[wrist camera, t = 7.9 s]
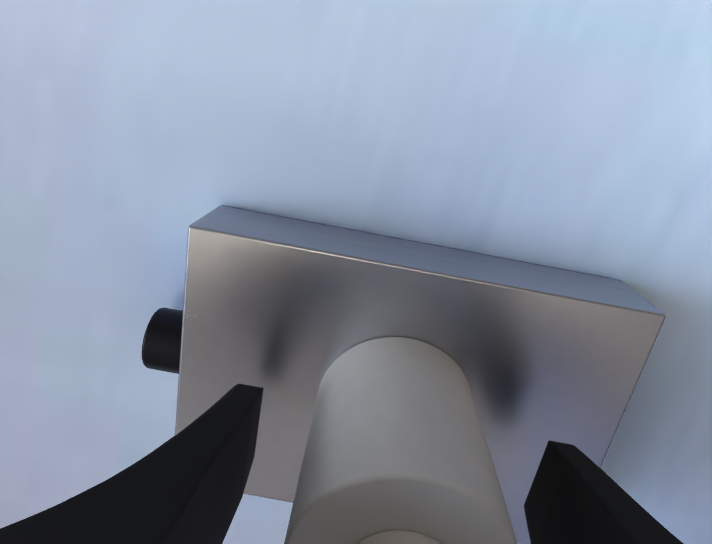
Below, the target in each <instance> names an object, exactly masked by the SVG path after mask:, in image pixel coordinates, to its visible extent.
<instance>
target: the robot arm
mask: <svg viewBox="0 0 712 544" xmlns="http://www.w3.org/2000/svg"><path fill="white" fill-rule="evenodd" d="M263 389H264V388H261V387H256V386H250V385H245V384H239V383H238V384H237V385H235V386H234V387H232V388H231V389H230V390H229V391H228V392H227V393H226V394H225V395H224V396H223V397H221V398H220V399H219V400H218V401H217V402H216V403H215V404H214V405H212V406H211V407H210V408H209V409H208V410H207V411H205V412H204V413H203V414H202V415H201V416H199V417H198V418H197V419H196V420H194V421H193V422H192V423H191V424H189V425H188V426H187V427H186V428H184V429H183V430H182V431H180V432H179V433H178V434H176V435H175V436H174V437H172V438H171V439H170V440H168V441H167V442H165V443H164V444H162V445H161V446H160V447H158V448H157V449H155V450H154V451H153V452H151V453H150V454H148V455H147V456H145V457H144V458H142V459H141V460H139V461H138V462H136V463H134V464H133V465H131V466H130V467H128V468H126V469H125V470H123V471H121V472H120V473H118V474H116V475H115V476H113V477H111V478H109V479H108V480H106V481H104V482H102V483H100V484H98V485H96V486H94V487H92V488H90V489H88V490H86V491H84V492H82V493H80V494H78V495H76V496H74V497H72V498H70V499H68V500H66V501H64V502H62V503H60V504H58V505H56V506H54V507H51V508H49V509H47V510H45V511H42V512H40V513H38V514H35V515H33V516H31V517H28V518H26V519H23V520H21V521H18V522H16V523H14V524H11V525H9V526H6V527H4V528H1V529H0V544H222V543H223V540H224V538H225V536H226V533H227V531H228V529H229V526H230V524H231V522H232V519H233V517H234V515H235V512H236V510H237V508H238V505H239V503H240V501H241V498H242V496H243V492H244V489H245V486H246V483H247V480H248V476H249V473H250V470H251V466H252V463H253V460H254V456H255V448H256V441H257V433H258V426H259V419H260V411H261V404H262V396H263ZM524 511H525V516H526V522H527V527H528V532H529V537H530V542H531V544H683V543H682V542H681V541H680V540H678V539H677V538H676V537H675V536H674V535H673V534H671V533H670V532H669V531H668V530H667V529H666V528H664V527H663V526H662V525H661V524H660V523H659V522H658V521H657V520H655V519H654V518H653V517H652V516H651V515H650V514H649V513H648V512H647V511H646V510H644V509H643V508H642V507H641V506H640V505H639V504H638V503H637V502H636V501H635V500H634V499H633V498H631V497H630V496H629V495H628V494H627V493H626V492H625V491H624V490H623V489H622V488H621V487H620V486H619V485H618V484H616V483H615V482H614V481H613V480H612V479H611V478H610V477H609V476H608V475H607V474H606V473H605V472H604V471H603V470H602V469H601V468H599V467H598V466H597V465H596V464H595V463H594V462H593V461H592V460H591V459H590V458H588V457H587V456H586V455H585V454H584V453H583V452H582V451H580V450H579V449H578V448H577V447H576V446H574V445H572V444H566V443H561V442H555V441H550V440H549V441H548V443H547V446H546V448H545V451H544V454H543V456H542V459H541V462H540V464H539V467H538V469H537V472H536V475H535V477H534V480H533V483H532V485H531V488H530V490H529V493H528V496H527V498H526V501H525V504H524Z"/></svg>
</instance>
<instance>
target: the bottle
mask: <svg viewBox="0 0 712 544" xmlns="http://www.w3.org/2000/svg"><path fill="white" fill-rule="evenodd" d="M284 544H518V543H517V539H516V536H515V533H514V530H513V526H512V523H511V520H510V516H509V513H508V510H507V507H506V503H505V500H504V497H503V493H502V490H501V487H500V483H499V480H498V477H497V474H496V470H495V467H494V464H493V460H492V457H491V454H490V450H489V447H488V444H487V441H486V437H485V434H484V431H483V427H482V424H481V421H480V418H479V414H478V411H477V408H476V404H475V401H474V398H473V394H472V391H471V388H470V385H469V383H468V380H467V378H466V376H465V374H464V373H463V371H462V370H461V368H460V367H459V366H458V365H457V363H456V362H455V361H454V360H453V359H451V358H450V357H449V356H448V355H447V354H445V353H444V352H443V351H441V350H440V349H438V348H436V347H434V346H432V345H430V344H427V343H425V342H422V341H419V340H415V339H411V338H403V337H385V338H378V339H373V340H369V341H366V342H364V343H361V344H358V345H357V346H355V347H353V348H351V349H349V350H348V351H346V352H345V353H343V354H342V355H341V356H339V357H338V358H337V359H336V360H335V361H334V362H333V363H332V365H331V366H330V367H329V368H328V370H327V371H326V373H325V375H324V376H323V379H322V381H321V383H320V386H319V390H318V394H317V399H316V403H315V408H314V412H313V417H312V421H311V426H310V430H309V435H308V439H307V444H306V448H305V453H304V457H303V462H302V466H301V471H300V475H299V480H298V484H297V489H296V493H295V498H294V502H293V507H292V511H291V516H290V520H289V525H288V529H287V534H286V538H285V543H284Z"/></svg>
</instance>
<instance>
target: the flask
mask: <svg viewBox="0 0 712 544" xmlns="http://www.w3.org/2000/svg"><path fill="white" fill-rule="evenodd" d="M664 319H665V314H664V313H662V312H661V311H660V310H658V309H657V308H656V307H654V306H653V305H652V304H650V303H649V302H648V301H647V300H645V299H644V298H643V297H641V296H640V295H639V294H637V293H636V292H635V291H633V290H632V289H631V288H629V287H628V286H627V285H626V284H624V283H623V282H622V281H620V280H615V279H610V278H605V277H599V276H594V275H589V274H583V273H578V272H573V271H567V270H562V269H557V268H551V267H546V266H541V265H535V264H530V263H525V262H519V261H514V260H509V259H503V258H498V257H493V256H487V255H482V254H477V253H471V252H466V251H461V250H455V249H450V248H445V247H440V246H434V245H429V244H424V243H418V242H413V241H408V240H402V239H397V238H392V237H386V236H381V235H376V234H370V233H365V232H360V231H354V230H349V229H344V228H338V227H333V226H328V225H322V224H317V223H312V222H306V221H301V220H296V219H290V218H285V217H280V216H274V215H269V214H264V213H258V212H253V211H248V210H242V209H237V208H232V207H226V206H219V207H217V208H216V209H214V210H213V211H211V212H209V213H208V214H206V215H205V216H203V217H202V218H200V219H199V220H197V221H196V222H194V223H193V224H191V225H190V226H189V227H188V242H187V257H186V273H185V288H184V304H183V311H180V310H174V309H169V308H160V309H158V310H157V311H156V312H155V313H154V315H153V316H152V318H151V320H150V322H149V324H148V326H147V329H146V332H145V335H144V339H143V345H142V360H143V364H144V365H145V366H146V367H147V368H150V369H156V370H161V371H166V372H172V373H177V374H179V381H178V397H177V412H176V428H175V435H176V434H178V433H179V432H180V431H182V430H183V429H184V428H186V427H187V426H188V425H189V424H191V423H192V422H193V421H194V420H196V419H197V418H198V417H199V416H201V415H202V414H203V413H204V412H205V411H207V410H208V409H209V408H210V407H211V406H212V405H214V404H215V403H216V402H217V401H218V400H219V399H220V398H221V397H223V396H224V395H225V394H226V393H227V392H228V391H229V390H230V389H231V388H232V387H234V386H235V385H237V384H238V383H239V384H245V385H250V386H256V387H261V388H264V389H263V396H262V404H261V411H260V419H259V426H258V433H257V441H256V448H255V456H254V460H253V463H252V466H251V470H250V473H249V476H248V480H247V483H246V486H245V489H244V492H243V494H249V495H254V496H260V497H265V498H271V499H276V500H282V501H287V502H294V498H295V493H296V489H297V484H298V480H299V475H300V471H301V466H302V462H303V457H304V453H305V448H306V444H307V439H308V435H309V430H310V426H311V421H312V417H313V412H314V408H315V403H316V399H317V394H318V390H319V386H320V383H321V381H322V379H323V376H324V375H325V373H326V371H327V370H328V368H329V367H330V366H331V365H332V363H333V362H334V361H335V360H336V359H337V358H338V357H339V356H341V355H342V354H343V353H345V352H346V351H348V350H349V349H351V348H353V347H355V346H357V345H358V344H361V343H364V342H366V341H369V340H373V339H378V338H385V337H403V338H411V339H415V340H419V341H422V342H425V343H427V344H430V345H432V346H434V347H436V348H438V349H440V350H441V351H443V352H444V353H445V354H447V355H448V356H449V357H450V358H451V359H453V360H454V361H455V362H456V363H457V365H458V366H459V367H460V368H461V370H462V371H463V373H464V374H465V376H466V378H467V380H468V383H469V385H470V388H471V391H472V394H473V398H474V401H475V404H476V408H477V411H478V414H479V418H480V421H481V424H482V427H483V431H484V434H485V437H486V441H487V444H488V447H489V450H490V454H491V457H492V460H493V464H494V467H495V470H496V474H497V477H498V480H499V483H500V487H501V490H502V493H503V497H504V500H505V503H506V507H507V510H508V513H509V516H510V520H511V523H512V526H513V530H514V533H515V536H516V539H517V543H519V544H531V542H530V537H529V532H528V527H527V522H526V516H525V511H524V504H525V501H526V498H527V496H528V493H529V490H530V488H531V485H532V483H533V480H534V477H535V475H536V472H537V469H538V467H539V464H540V462H541V459H542V456H543V454H544V451H545V448H546V446H547V443H548V441H549V440H550V441H555V442H561V443H566V444H572V445H574V446H576V447H577V448H578V449H579V450H580V451H582V452H583V453H584V454H585V455H586V456H587V457H588V458H590V459H591V460H592V461H593V462H594V463H595V464H596V465H597V466H598V467H599V468H600V466H601V464H602V462H603V460H604V457H605V455H606V453H607V450H608V448H609V446H610V443H611V441H612V439H613V437H614V434H615V432H616V430H617V427H618V425H619V423H620V420H621V418H622V416H623V413H624V411H625V409H626V407H627V404H628V402H629V400H630V397H631V395H632V393H633V390H634V388H635V386H636V384H637V381H638V379H639V377H640V374H641V372H642V370H643V367H644V365H645V363H646V361H647V358H648V356H649V354H650V351H651V349H652V347H653V344H654V342H655V340H656V338H657V335H658V333H659V331H660V328H661V326H662V324H663V321H664Z"/></svg>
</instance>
